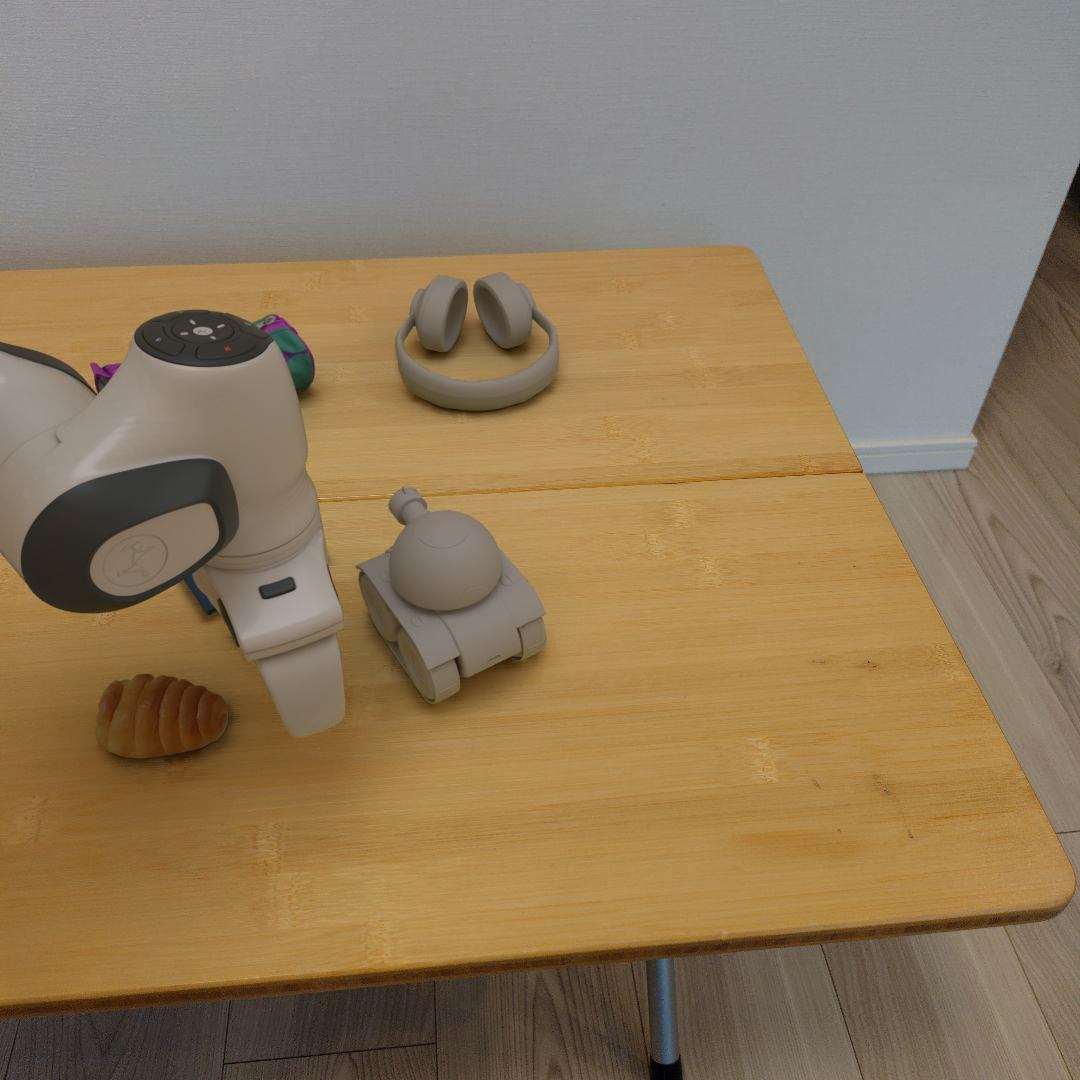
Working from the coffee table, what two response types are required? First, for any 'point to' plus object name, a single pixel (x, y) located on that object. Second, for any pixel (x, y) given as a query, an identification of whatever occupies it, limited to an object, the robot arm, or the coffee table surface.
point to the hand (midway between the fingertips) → (289, 673)
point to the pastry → (158, 716)
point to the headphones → (505, 321)
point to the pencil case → (282, 334)
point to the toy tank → (448, 598)
